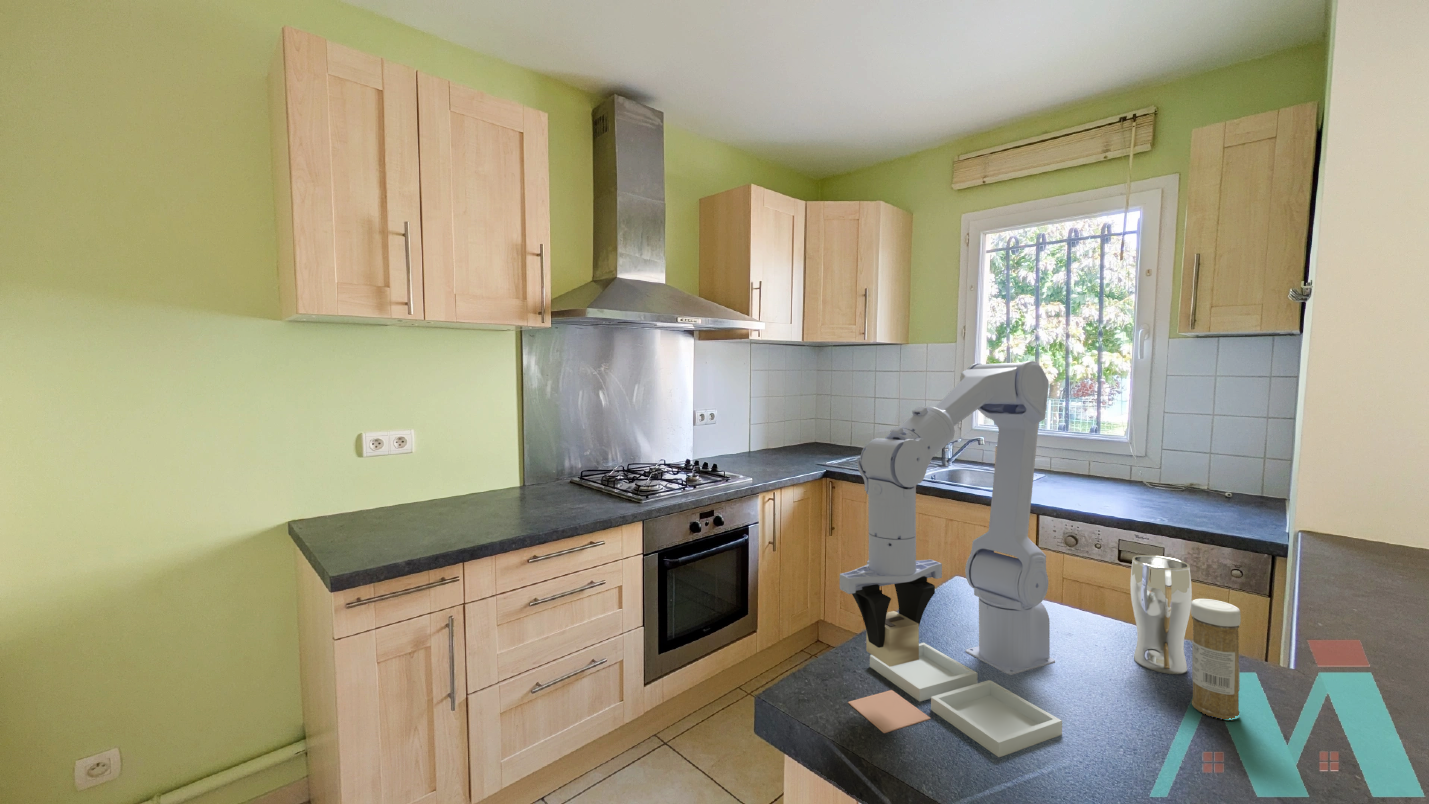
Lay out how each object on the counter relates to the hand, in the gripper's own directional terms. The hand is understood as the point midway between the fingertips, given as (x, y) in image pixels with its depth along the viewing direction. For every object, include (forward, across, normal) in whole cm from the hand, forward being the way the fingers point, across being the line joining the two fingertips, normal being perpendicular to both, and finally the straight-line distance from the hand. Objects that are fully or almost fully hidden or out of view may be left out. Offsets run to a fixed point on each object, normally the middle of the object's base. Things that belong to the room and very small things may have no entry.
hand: (892, 640), depth 72 cm
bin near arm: (+9, -9, -4) cm, 13 cm away
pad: (+9, +1, +1) cm, 9 cm away
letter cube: (+2, 0, 0) cm, 2 cm away
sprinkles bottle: (+9, -36, +17) cm, 40 cm away
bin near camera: (+9, -9, +8) cm, 14 cm away
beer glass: (+9, -43, +7) cm, 44 cm away
